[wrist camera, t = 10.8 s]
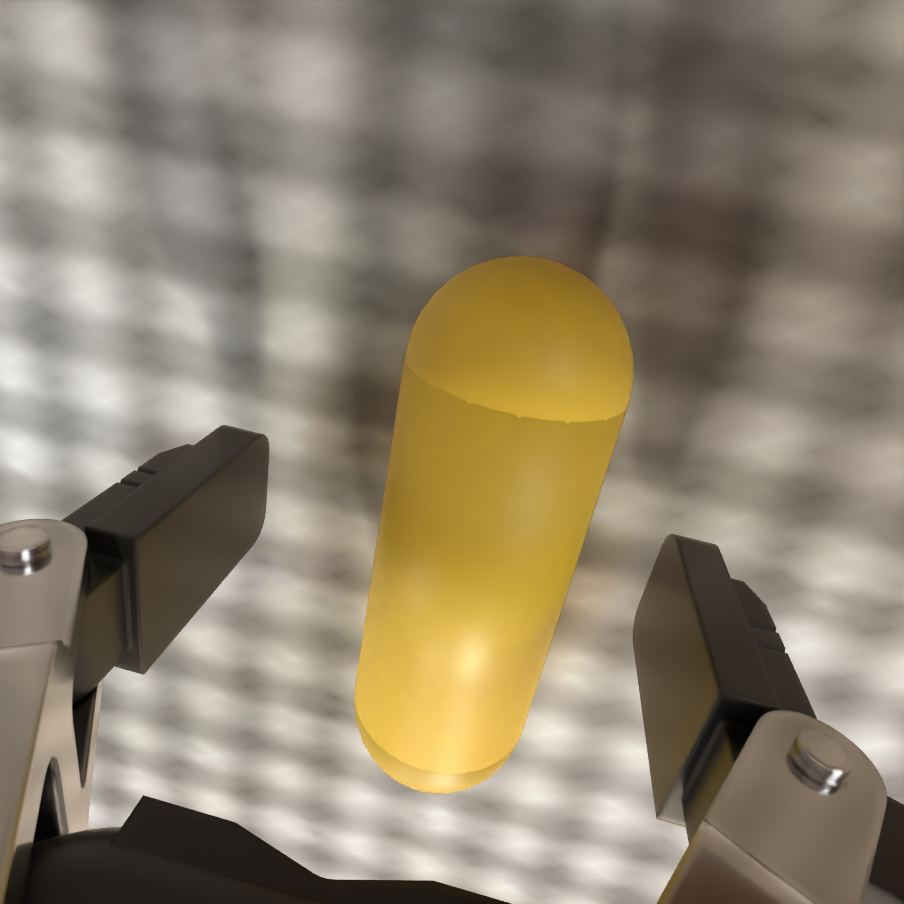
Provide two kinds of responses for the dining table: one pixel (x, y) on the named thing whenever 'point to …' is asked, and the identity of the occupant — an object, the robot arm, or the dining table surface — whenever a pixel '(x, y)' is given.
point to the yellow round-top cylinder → (485, 512)
